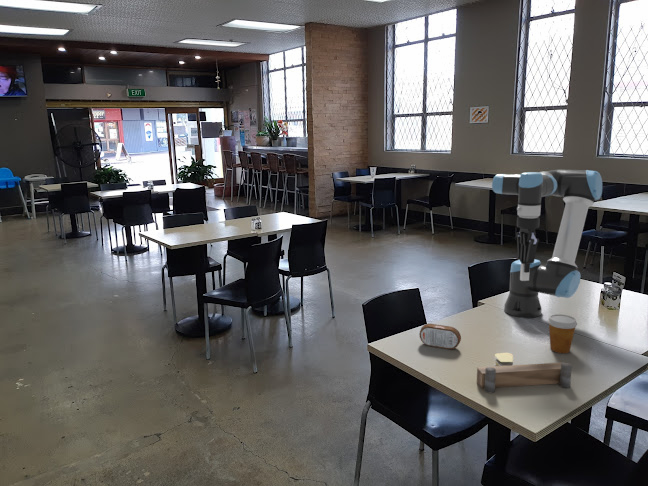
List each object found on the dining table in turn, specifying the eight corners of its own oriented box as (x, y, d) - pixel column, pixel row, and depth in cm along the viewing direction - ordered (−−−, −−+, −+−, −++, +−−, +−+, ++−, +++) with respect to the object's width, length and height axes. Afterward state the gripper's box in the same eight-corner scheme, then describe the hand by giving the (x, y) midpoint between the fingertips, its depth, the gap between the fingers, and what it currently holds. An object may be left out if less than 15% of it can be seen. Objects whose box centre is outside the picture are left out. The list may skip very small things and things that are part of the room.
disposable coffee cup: (572, 345, 181) (575, 315, 179) (576, 356, 173) (579, 324, 170) (544, 342, 184) (546, 312, 182) (546, 353, 176) (549, 322, 173)
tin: (460, 348, 182) (461, 327, 180) (459, 351, 179) (460, 330, 177) (420, 342, 188) (420, 321, 186) (418, 345, 185) (418, 324, 184)
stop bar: (476, 381, 158) (477, 361, 156) (561, 376, 159) (563, 356, 158) (485, 393, 151) (486, 372, 149) (573, 387, 153) (575, 366, 151)
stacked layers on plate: (522, 380, 159) (523, 364, 157) (493, 379, 159) (494, 363, 158) (513, 365, 168) (514, 350, 167) (486, 365, 169) (487, 350, 168)
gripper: (510, 213, 181) (506, 275, 186) (526, 220, 168) (522, 286, 174) (530, 213, 181) (526, 274, 187) (548, 219, 169) (543, 285, 174)
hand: (524, 280), depth 180 cm, fingers closed
